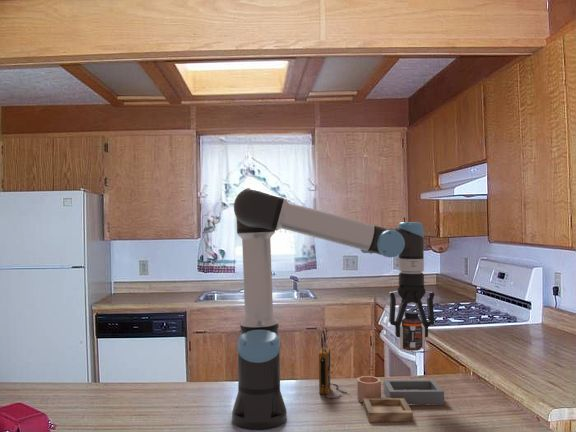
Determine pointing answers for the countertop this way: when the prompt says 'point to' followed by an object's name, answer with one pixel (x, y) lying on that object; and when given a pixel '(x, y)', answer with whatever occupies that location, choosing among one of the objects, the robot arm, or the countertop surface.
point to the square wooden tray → (387, 409)
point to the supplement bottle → (412, 331)
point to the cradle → (414, 391)
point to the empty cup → (368, 387)
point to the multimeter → (325, 369)
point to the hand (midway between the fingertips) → (411, 347)
